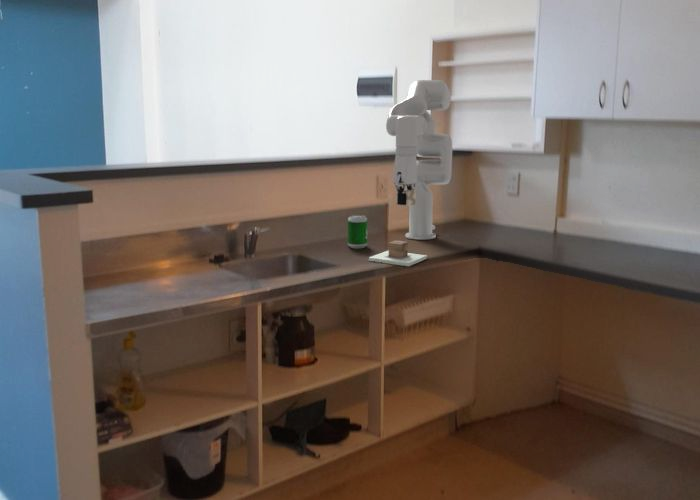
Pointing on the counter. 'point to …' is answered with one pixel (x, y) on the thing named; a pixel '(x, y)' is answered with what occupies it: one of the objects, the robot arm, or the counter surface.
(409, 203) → the maple cube
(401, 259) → the build board
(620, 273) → the counter surface
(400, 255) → the walnut cube
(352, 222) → the soda can
